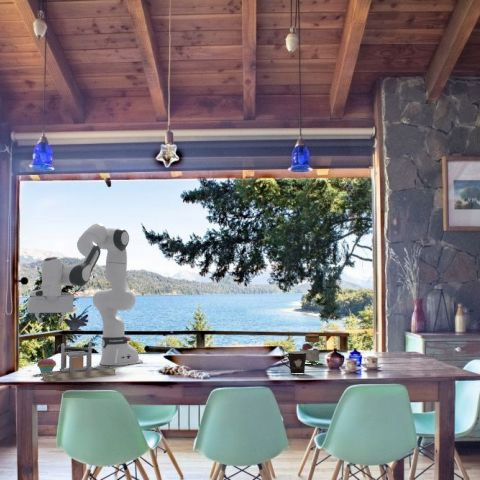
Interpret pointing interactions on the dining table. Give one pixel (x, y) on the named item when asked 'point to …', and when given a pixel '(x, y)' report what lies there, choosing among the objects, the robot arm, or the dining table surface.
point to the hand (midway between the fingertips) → (50, 322)
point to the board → (78, 374)
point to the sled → (76, 360)
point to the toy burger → (311, 354)
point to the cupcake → (46, 364)
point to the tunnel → (73, 354)
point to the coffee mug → (296, 361)
